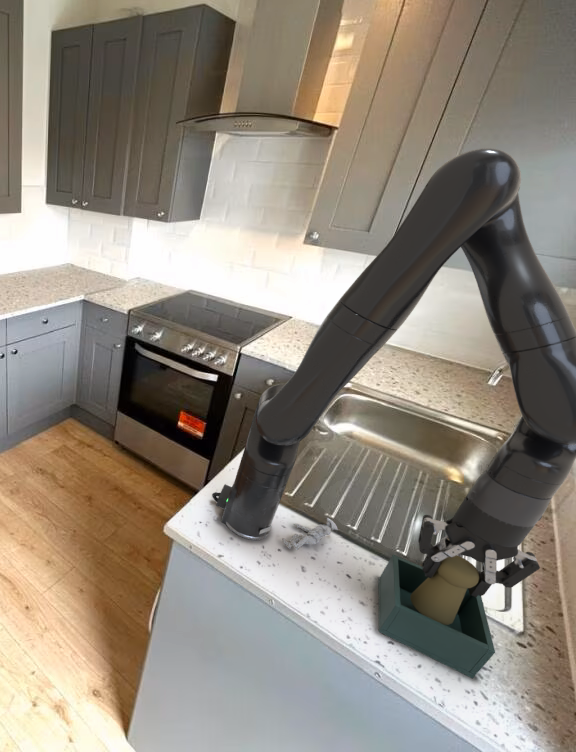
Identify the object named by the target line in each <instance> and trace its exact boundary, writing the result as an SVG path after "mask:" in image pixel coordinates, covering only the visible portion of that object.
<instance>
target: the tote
mask: <svg viewBox="0 0 576 752" xmlns="http://www.w3.org/2000/svg"><path fill="white" fill-rule="evenodd" d="M427 578H428V577H426V576H425V572H423V568H422V565H420V564H417V563H414V562H413V561H409V560H408V559H405V558H403V557H401V556H398V555H396V554H392V555H391V556H390V559H388V562H387V564H386V565H385V567H384V569H383V570H382V572H381V574H380V576H379V578H378V581H377V584H378V586H377V587H378V588H377V589H378V591H377V592H378V593H377V595H378V632H379V633H380V634H382V635H384V636H386V637H388V638H390V639H392V640H394V641H396V642H398V643H401V644H402V645H404V646H406V647H409V648H411V649H413V650H415V651H416V652H418V653H421V654H423V655H425V656H427V657H429V658H431V659H432V660H435V661H437V662H438V663H441V664H442V665H445V666H447V667H448V668H451V669H452V670H454V671H456V672H459V673H461V674H463V675H464V676H466V677H469V678H470V679H474V678H475V677H476V676H477V674H478V673H479V672H480V671H481V670H482V668H483V667H484V666H486V664H487V663H488V662H489V660H490V659H491V658H492V657H493V656H494V655H495V653H496V648H495V645H494V642H493V638H492V633H491V630H490V629H491V628H490V625H489V622H488V617H487V614H486V609H485V606H484V602H483V598H482V596H480V595H478V596H477V597H474V596H471V595H470V594H469V590H468V588H467V591H466V593H465V595H464V598H463V600H462V602H461V605H460V607H459V609H458V612H457V614H456V616H455V619H454V621H453V623H452V624H449V625H444V624H441V623H439V622H437V621H435V620H433V619H431V618H429V617H426V616H424V615H422V614H421V613H420V612H419V611H418V610H417V609H416V608H415V607H414V605H413V604H412V602H411V599H410V595H411V594H412V593H413V592H414V591H415V590H416V589H417V588H418V587H419V586H420V585H421V584H422V583H423V582H424V581H425V580H426V579H427Z"/></svg>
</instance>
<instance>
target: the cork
mask: <svg viewBox="0 0 576 752" xmlns="http://www.w3.org/2000/svg"><path fill="white" fill-rule="evenodd" d="M478 571H479V570H478V569H477V567H476V565H474V564H473V563H472V562H470V561H468V559H466V558H464V557H462V556H459V555H456V556H454V557H452V558H450V557H448V558H446V559H444V560H442V561H440V566H439V567H438V569H437V570H436V572H435V573H434V575H433V576H432V578H429V577H428V578H427V579H426V580H425V581H424V582H423V583H422V584H421V585H420V586H419V587H418V588H417V589H416V590H415V591H414V592H413V593H412V594H411V595H410V599H411V602H412V604H413V605H414V607H415V608H416V609H417V610H418V611H419V612H420V613H421V614H422V615H424V616H426V617H429V618H431V619H433V620H435V621H437V622H439V623H441V624H444V625H449V624H452V623H453V621H454V619H455V616H456V614H457V612H458V609H459V607H460V605H461V602H462V600H463V598H464V595H465V593H466V591H467V588H471V587H474V586H475V585H476V584H477V583H478V581H479V578H480V577H479V572H478Z"/></svg>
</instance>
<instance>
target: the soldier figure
mask: <svg viewBox="0 0 576 752" xmlns="http://www.w3.org/2000/svg"><path fill="white" fill-rule="evenodd" d="M293 525H294V526H296V527H295V528H297V529H298V528H300V530H302V531H305V532H306V534H305V535H304V534H301V533H300V534H299V533H294V534H293V535H292V536H291V537H290V538H291V539H290V540H289V541H287V540H286V539H285V538H282V542H283V544H284V545H285V546H286V547H287V548H288V549H291V548H292V547H294V549H295V550H297V551H298V550H300V547H302V546H303V545H305V544H307V545H316V544H318V543H319V542H320V540H321V539H322V538H325V537H327V536H330V535H331V533H332V532H333V531H334V530H335V531H339V529H338V526H337V524H336V523H335V522H334V521H333V520H332V519H330V517H326V524H318V525H317V526H315V527H312V528H308V527H306V526H303V525H301V524H299V523H294V524H293Z"/></svg>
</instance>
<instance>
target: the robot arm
mask: <svg viewBox="0 0 576 752" xmlns="http://www.w3.org/2000/svg"><path fill="white" fill-rule="evenodd" d="M521 183H522V172H521V169H520V166H519V164H518V162H517V161H516V160H515V158H514V157H513V156H511V155H510V154H509V153H507V152H505V151H504V150H501V149H498V148H491V147H490V148H489V147H488V148H485V147H484V148H476V149H472V150H469V151H466V152H462V153H460V154H459V155H457V156H455V157H452V158H451V159H450V160H448V161H446V162H444V164H442V165H441V166H440V167H439V168H438V169H437V170H435V172H434V173H433V174H432V176H430V178H429V180H428V181H427V183H426V184H425V186H424V188H423V189H422V191H421V192H420V194H419V196H418V197H417V200H416V201H415V202H414V204H413V206H411V209H410V211H409V212H408V213H407V215H406V216H405V218H404V220H403V221H402V223H401V224H400V226H399V227H398V229H397V230H396V232H395V233H394V234H393V236H392V238H391V239H390V240H389V242H387V243H386V244H385V246H384V248H383V249H382V250H381V251H380V252H379V253H378V255H376V257H374V259H373V260H372V261H370V263H369V264H368V265H367V266H366V268H364V270H363V271H362V272H361V273H360V275H358V277H357V278H356V279H355V280H354V281H353V283H351V284H350V286H349V287H348V289H347V290H346V291H345V292H344V293H343V294H342V296H341V297H340V298H339V300H338V301H337V302H336V303H335V305H334V306H333V307H332V308H331V310H330V311H329V312H328V313H327V315H326V316H325V318H324V319H323V321H322V322H321V324H320V325H319V327H318V328H317V331H316V332H315V333H314V335H313V338H312V339H311V341H310V343H309V345H308V347H307V349H306V351H305V354H304V356H303V358H302V360H301V362H300V364H299V366H298V367H297V369H296V370H295V372H294V373H293V374H292V376H291V377H290V378H289V379H288V381H287V382H286V383H279V384H275V385H272V386H270V387H268V388H267V389H266V390H264V391H263V392H262V393H261V394H260V397H259V399H258V402H257V404H256V408H255V411H254V414H253V417H252V421H251V425H250V427H249V431H248V435H247V438H246V442H245V446H244V449H243V453H242V456H241V459H240V462H239V465H238V469H237V472H236V475H235V478H234V481H233V484H232V486H231V485H228V484H226V483H224V485H223V487H222V489H221V491H220V492H217V491H214V492H213V493H211V498H212V499H213V500H214V501H215V503H216V504H215V507H218V508H220V509H222V510H223V513H222V517H221V520H220V522H221V523H222V524H224V525H226V527H227V528H228V529H229V530H230V531H231V532H232V533H234V534H235V535H237V536H238V537H241V538H243V539H245V540H249V541H260V540H264V539H266V538H267V536H268V535H269V533H270V531H271V529H272V524H273V522H274V518H275V516H276V513H277V511H278V508H279V505H280V502H281V500H282V497H283V495H284V492H285V489H286V487H287V484H288V482H289V479H290V476H291V474H292V471H293V469H294V466H295V465H296V464H295V463H296V461H297V456H298V451H299V447H300V443H301V441H302V440H304V439H305V438H307V437H308V435H309V434H310V433H311V432H312V430H313V428H314V427H315V426H316V424H317V423H318V421H320V420H319V419H321V417H322V416H323V414H324V413H325V411H326V410H327V408H328V407H329V405H330V404H331V403H332V401H333V400H334V399H335V397H336V396H337V395H338V394H339V393H340V392H341V391H342V390H343V389H344V387H345V386H347V385H348V383H349V382H351V381H352V380H353V378H355V377H356V376H357V374H358V373H359V372H360V371H362V369H363V368H364V367H365V366H366V364H368V362H369V361H370V360H371V359H372V358H374V356H375V355H376V354H377V353H378V352H379V351H380V350H381V349H382V348H383V347H384V346H385V345H386V344H387V343H388V341H389V340H390V339H391V338H392V337H393V336H394V335H395V334H396V332H397V331H398V330H399V329H400V328H401V327H402V325H403V324H404V323H405V321H407V319H408V318H409V316H410V315H411V314H412V312H413V311H414V310H415V308H416V307H417V306H418V304H419V302H420V301H421V299H422V298H423V296H424V294H425V293H426V291H427V290H428V288H429V287H430V285H431V283H432V282H433V280H434V278H435V277H436V276H437V274H438V273H439V272H440V270H441V269H442V268H443V266H444V265H445V264H446V263H447V261H449V260H450V259H451V257H452V256H453V255H454V254H455V253H456V252H457V251H459V249H460V248H461V250H462V252H463V253H464V256H465V257H466V259H467V262H468V264H469V266H470V269H471V271H472V273H473V276H474V279H475V282H476V285H477V288H478V289H477V290H478V292H479V295H480V299H481V302H482V305H483V309H484V311H485V315H486V319H487V320H488V321H487V322H488V323H489V326H490V328H491V331H492V333H493V335H494V338H495V340H496V342H497V344H498V347H499V351H500V352H501V354H502V356H503V358H504V360H505V362H506V364H507V366H508V368H509V371H510V376H511V377H510V378H511V382H512V386H513V390H514V391H513V392H514V394H515V398H516V401H517V405H518V409H519V412H520V414H521V417H520V419H519V421H518V423H517V425H516V426H515V428H514V430H513V432H512V433H511V435H510V436H509V437H508V438H507V439H506V441H504V443H503V444H502V445H501V446H500V447H499V448H498V450H497V452H496V453H495V454H494V456H493V457H492V459H491V461H490V462H489V463H488V465H487V467H486V468H485V470H484V471H483V472H482V473H481V474H480V475H479V476H478V478H476V480H475V481H474V483H473V485H472V486H471V488H470V489H469V491H468V493H467V494H466V496H465V497H464V499H463V500H462V501H461V504H460V505H459V507H458V508H457V510H456V512H455V513H454V515H453V517H451V518H450V519H447V520H446V521H441V520H438V519H433V518H434V517H432V515H429V514H424V515H423V516H422V520H421V525H420V530H419V533H418V534H419V535H418V539H417V541H418V546H419V548H418V549H419V552H420V553H421V554H424V555H426V556H425V558H424V559H423V561H422V563H421V566H422V568H423V572H425V576H426V577H429V578H432V576H433V575H434V573H435V572H436V570H437V569H438V567H439V566H440V561H442V560H444V559H446V558H448V557H450V558H452V557H454V556H456V555H457V556H459V555H462V556H465V557H469V558H471V559H473V560H475V561H477V562H478V563H481V571H480V570H478V572H479V577H480V578H479V581H478V583H477V584H476V585H475V586H474V587H471V588H468V590H469V594H470V595H471V596H474V597H477V596H478V595H480V596H481V597H482V596H484V595H485V594H486V593H487V592H488V590H489V589H490V588H491V586H492V585H495V584H499V585H502V586H503V587H505V588H508V589H509V588H514V587H515V586H516V585H517V584H520V583H521V582H522V581H524V580H525V579H527V578H528V577H530V576H532V575H533V574H534V573H535V572H537V571H538V570H539V571H540V569H541V567H540V564H539V562H538V559H537V557H536V555H535V553H532V552H530V551H526V552H524V551H522V550H520V549H519V546H520V545H521V544H522V543H523V541H524V540H525V539H526V537H528V535H529V533H530V532H531V531H532V530H533V528H534V527H535V525H536V524H537V523H538V522H539V521H541V520H542V519H543V515H544V513H545V512H546V511H547V509H548V506H549V505H550V502H551V500H552V499H553V497H554V496H555V494H557V492H558V491H559V489H560V488H561V486H562V485H563V484H564V483H565V481H566V480H567V478H568V476H569V475H570V473H571V470H572V468H573V466H574V464H575V461H576V327H575V325H574V323H573V321H572V319H571V316H570V314H569V312H568V309H567V307H566V305H565V303H564V302H563V301H564V300H562V297H561V295H560V294H559V292H558V290H557V289H556V286H555V284H554V283H553V282H552V279H551V278H550V276H549V274H548V273H547V272H546V270H545V268H544V266H543V264H542V263H541V260H540V259H539V258H538V255H537V253H536V252H535V250H534V247H533V245H532V242H531V240H530V238H529V235H528V233H527V229H526V226H525V223H524V218H523V212H522V207H521V202H520V194H519V191H520V188H521ZM441 531H445V533H446V535H445V536H443V537H442V538H441V539H440V540H439V541H438V542H436V543H435V544H433V545H432V540H433V535H434V536H435V535H438V534H439V533H440V532H441ZM510 558H512V559H513V560H512V561H511V562H510V563H508V564H506V566H504V567H503V568H501V569H500V570H497V561H502V560H506V559H510Z"/></svg>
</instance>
